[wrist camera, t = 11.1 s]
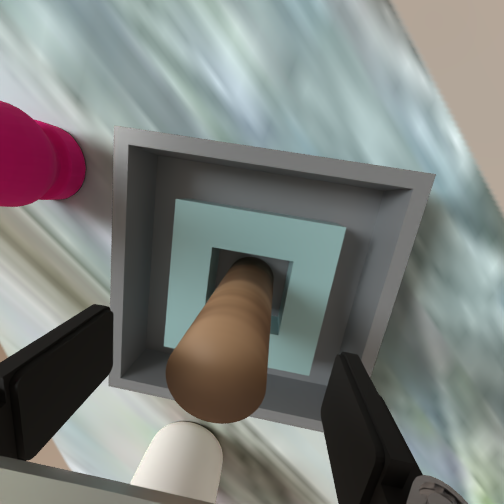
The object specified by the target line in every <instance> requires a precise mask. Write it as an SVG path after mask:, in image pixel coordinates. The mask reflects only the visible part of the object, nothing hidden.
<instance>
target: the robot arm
mask: <svg viewBox="0 0 504 504" xmlns="http://www.w3.org/2000/svg"><path fill="white" fill-rule="evenodd" d="M113 321H114V314H113V312H112V311H111V309H110V308H109V307H107V306H102V305H97V304H94V305H92V306H90V307H88V308H87V309H85V310H84V311H82V312H80V313H79V314H77V315H76V316H74V317H72V318H71V319H69V320H68V321H66V322H64V323H63V324H61V325H60V326H58V327H56V328H55V329H53V330H52V331H50V332H48V333H47V334H45V335H44V336H42V337H40V338H39V339H37V340H36V341H34V342H32V343H31V344H29V345H28V346H26V347H24V348H23V349H21V350H20V351H18V352H16V353H15V354H13V355H12V356H10V357H8V358H7V359H5V360H4V361H2V362H0V504H214V503H210V502H206V501H202V500H197V499H193V498H188V497H184V496H180V495H175V494H171V493H167V492H162V491H158V490H153V489H149V488H145V487H140V486H136V485H131V484H127V483H122V482H118V481H114V480H109V479H105V478H100V477H96V476H91V475H87V474H82V473H78V472H73V471H68V470H64V469H59V468H55V467H50V466H46V465H41V464H36V463H32V462H27V461H26V460H30V459H32V458H33V457H34V456H36V455H37V453H38V452H39V451H40V450H41V449H42V448H43V447H44V446H45V445H46V443H47V442H48V441H49V440H50V439H51V438H52V437H53V436H54V435H55V434H56V432H57V431H58V430H59V429H60V428H61V427H62V426H63V425H64V424H65V422H66V421H67V420H68V419H69V418H70V417H71V416H72V415H73V414H74V412H75V411H76V410H77V409H78V408H79V407H80V406H81V405H82V404H83V403H84V401H85V400H86V399H87V398H88V397H89V396H90V395H91V394H92V393H93V391H94V390H95V389H96V388H97V387H98V386H99V385H100V384H101V383H102V381H103V380H104V379H105V378H106V377H107V376H108V375H109V374H110V372H111V370H112V367H113ZM321 420H322V425H323V430H324V435H325V440H326V445H327V450H328V454H329V459H330V464H331V469H332V474H333V479H334V484H335V489H336V493H337V498H338V503H339V504H468V503H467V502H466V501H465V500H464V499H463V497H462V496H461V495H459V494H458V493H457V492H456V491H455V490H454V489H453V488H451V487H450V486H449V485H447V484H445V483H444V482H442V481H441V480H439V479H436V478H434V477H432V476H426V475H423V474H422V472H421V471H420V469H419V467H418V465H417V463H416V461H415V459H414V457H413V455H412V453H411V451H410V450H409V448H408V446H407V444H406V442H405V440H404V438H403V436H402V434H401V432H400V430H399V429H398V427H397V425H396V423H395V421H394V419H393V417H392V415H391V413H390V411H389V409H388V407H387V406H386V404H385V402H384V400H383V399H382V397H381V396H380V395H379V394H378V392H377V391H376V389H375V387H374V385H373V383H372V381H371V379H370V377H369V375H368V373H367V371H366V369H365V367H364V365H363V363H362V361H361V359H360V357H359V356H358V355H357V354H353V353H348V352H342V353H341V354H340V355H338V354H337V355H336V357H335V361H334V364H333V368H332V371H331V375H330V378H329V381H328V385H327V388H326V392H325V395H324V399H323V402H322V406H321Z"/></svg>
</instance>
